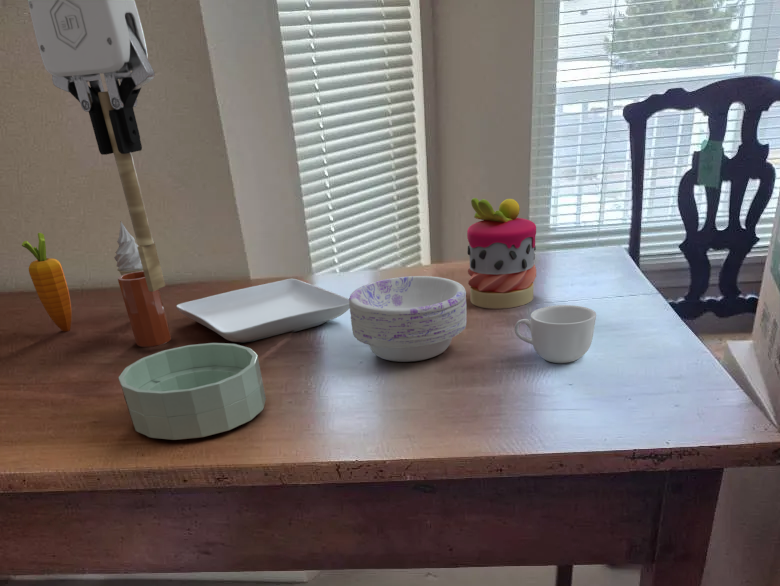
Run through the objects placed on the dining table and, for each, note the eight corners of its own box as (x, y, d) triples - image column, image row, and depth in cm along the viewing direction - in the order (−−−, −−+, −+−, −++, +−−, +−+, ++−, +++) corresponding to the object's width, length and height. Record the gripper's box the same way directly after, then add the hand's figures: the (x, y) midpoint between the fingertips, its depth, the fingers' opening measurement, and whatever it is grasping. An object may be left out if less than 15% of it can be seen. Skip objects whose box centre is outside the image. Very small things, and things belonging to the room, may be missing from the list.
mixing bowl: (107, 438, 82) (90, 388, 79) (182, 386, 94) (170, 340, 90) (223, 449, 77) (211, 396, 74) (288, 393, 89) (279, 345, 86)
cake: (501, 286, 121) (501, 186, 112) (549, 296, 114) (553, 191, 105) (454, 301, 116) (450, 198, 107) (502, 313, 109) (501, 204, 100)
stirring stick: (157, 291, 85) (105, 91, 74) (144, 291, 86) (91, 92, 75) (169, 286, 87) (121, 90, 76) (157, 285, 88) (107, 91, 76)
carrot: (57, 340, 115) (22, 239, 106) (46, 334, 118) (11, 236, 109) (88, 331, 117) (56, 232, 109) (76, 326, 120) (44, 229, 112)
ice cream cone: (156, 310, 125) (131, 216, 116) (167, 316, 121) (142, 219, 113) (127, 317, 122) (99, 222, 114) (137, 324, 119) (109, 225, 110)
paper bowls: (441, 376, 90) (438, 311, 85) (334, 365, 96) (326, 304, 91) (483, 335, 101) (482, 276, 97) (385, 328, 107) (380, 272, 102)
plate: (295, 295, 126) (292, 274, 124) (359, 321, 111) (356, 298, 109) (177, 324, 117) (172, 303, 115) (229, 357, 102) (224, 333, 100)
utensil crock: (130, 349, 108) (110, 280, 103) (150, 337, 112) (132, 270, 106) (159, 350, 107) (140, 280, 101) (178, 339, 110) (161, 270, 105)
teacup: (599, 348, 93) (602, 306, 90) (585, 370, 88) (588, 326, 85) (523, 343, 97) (523, 302, 94) (505, 364, 92) (505, 321, 89)
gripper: (-30, -62, 68) (39, 160, 78) (106, -86, 63) (161, 154, 73) (29, -55, 74) (87, 150, 84) (159, -77, 68) (203, 145, 79)
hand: (121, 151), depth 78 cm, fingers closed on stirring stick, 1 cm apart
